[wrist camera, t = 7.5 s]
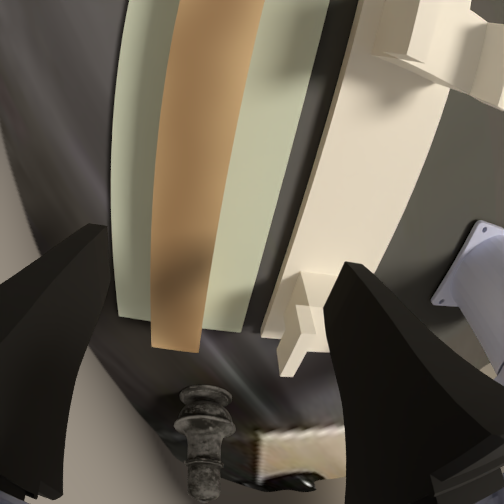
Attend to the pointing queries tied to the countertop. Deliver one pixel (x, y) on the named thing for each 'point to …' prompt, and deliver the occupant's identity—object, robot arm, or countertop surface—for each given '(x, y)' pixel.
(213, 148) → the oak bar
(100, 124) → the countertop surface
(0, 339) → the robot arm
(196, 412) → the grey chess piece
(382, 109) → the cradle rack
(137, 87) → the sage mat
